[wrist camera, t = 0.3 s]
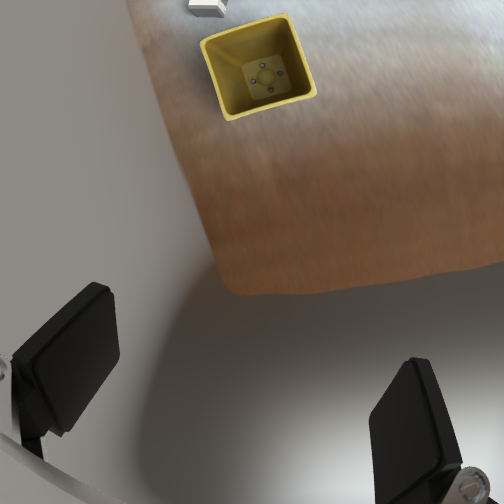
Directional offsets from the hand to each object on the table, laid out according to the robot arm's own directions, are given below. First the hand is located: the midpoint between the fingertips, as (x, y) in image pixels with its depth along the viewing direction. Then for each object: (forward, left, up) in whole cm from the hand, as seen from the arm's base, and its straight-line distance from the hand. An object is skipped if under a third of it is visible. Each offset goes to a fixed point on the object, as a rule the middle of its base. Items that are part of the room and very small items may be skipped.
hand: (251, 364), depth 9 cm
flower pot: (-12, -5, -30) cm, 33 cm away
